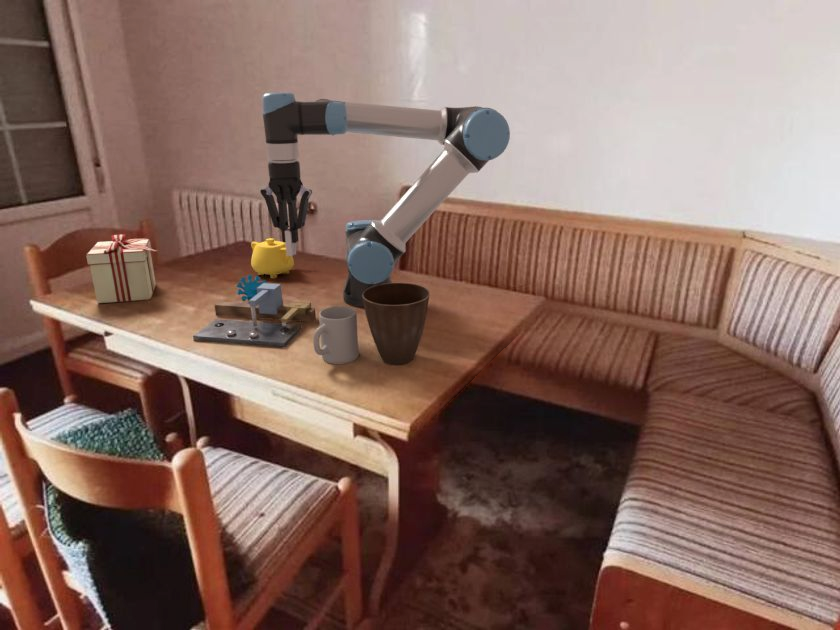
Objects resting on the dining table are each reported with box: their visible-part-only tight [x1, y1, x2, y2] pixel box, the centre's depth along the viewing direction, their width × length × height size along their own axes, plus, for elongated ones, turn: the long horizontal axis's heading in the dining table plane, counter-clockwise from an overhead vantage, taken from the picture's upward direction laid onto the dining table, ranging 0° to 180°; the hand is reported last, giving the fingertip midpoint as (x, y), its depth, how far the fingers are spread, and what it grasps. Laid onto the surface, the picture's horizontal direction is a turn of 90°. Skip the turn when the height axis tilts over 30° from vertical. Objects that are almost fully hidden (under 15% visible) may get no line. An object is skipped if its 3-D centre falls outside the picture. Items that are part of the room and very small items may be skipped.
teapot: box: [250, 237, 295, 279], centre depth 192 cm, size 14×14×12 cm
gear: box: [236, 274, 268, 304], centre depth 169 cm, size 11×6×10 cm
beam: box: [214, 301, 317, 323], centre depth 158 cm, size 28×2×3 cm, turn 79°
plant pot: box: [362, 282, 430, 366], centre depth 132 cm, size 15×15×16 cm
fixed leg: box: [280, 300, 312, 329], centre depth 152 cm, size 5×13×3 cm, turn 169°
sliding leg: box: [248, 282, 284, 327], centre depth 152 cm, size 5×13×7 cm, turn 169°
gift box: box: [85, 233, 159, 304], centre depth 174 cm, size 17×18×17 cm
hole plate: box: [192, 318, 303, 349], centre depth 147 cm, size 24×11×2 cm, turn 79°
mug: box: [312, 305, 360, 365], centre depth 133 cm, size 12×8×11 cm
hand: (291, 254), depth 150 cm, fingers closed
